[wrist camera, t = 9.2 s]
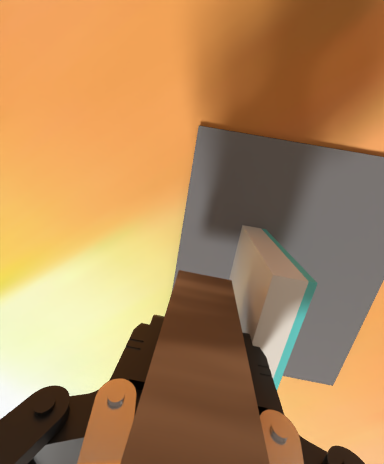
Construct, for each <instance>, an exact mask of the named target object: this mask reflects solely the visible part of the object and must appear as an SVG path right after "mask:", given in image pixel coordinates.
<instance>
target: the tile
mask: <svg viewBox="0 0 384 464" xmlns="http://www.w3.org/2000/svg"><path fill="white" fill-rule="evenodd" d="M229 280H232V285H233V290H234V294H235V299H236V304H237V309H238V314H239V319H240V323H241V328H242V332H243V333H248V334H250V336H251V340H252V344H253V346H257V347H260V349H261V350H262V351H263V353H264V354H265V356H266V358H267V361H268V364H269V369H270V371H271V374H272V378H273V380H274V384H275V387H276V390H277V389H278V386H279V383H280V381H281V378H282V376H283V373H284V370H285V368H286V365H287V363H288V360H289V357H290V355H291V352H292V349H293V347H294V344H295V342H296V339H297V336H298V334H299V331H300V328H301V326H302V323H303V321H304V318H305V315H306V313H307V310H308V307H309V305H310V302H311V300H312V297H313V294H314V292H315V289H316V286H317V284H318V283H317V282H316V281H315V280H314V279H313V278H312V277H311V276H310V275H309V274H308V273H307V272H306V271H305V270H304V268H303V267H302V266H301V265H300V264H299V263H298V262H297V261H296V260H295V259H294V258H293V257H292V256H291V255H290V254H289V253H288V252H287V251H286V250H285V249H284V248H283V247H282V246H281V245H280V244H279V242H278V241H277V240H276V239H275V238H274V237H273V236H272V235H271V234H270V233H269V232H268V231H267V230H266V229H261V228H256V227H250V226H245V225H242V229H241V233H240V237H239V241H238V245H237V250H236V254H235V258H234V262H233V266H232V270H231V274H230V278H229Z"/></svg>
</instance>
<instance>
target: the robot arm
mask: <svg viewBox="0 0 384 464" xmlns="http://www.w3.org/2000/svg"><path fill="white" fill-rule="evenodd" d="M163 321H164V316H159V315H154V316H153V318H152V321H151V323H150V325H148V324H143V323H141V324H140V325H139V326H137V327H136V328H135V329H134V330H133V332H132V334H131V337H130V339H129V341H128V343H127V345H126V348H125V349H124V351H123V354H122V356H121V358H120V360H119V362H118V364H117V366H116V368H115V370H114V373H113V375H112V377H111V379H110V380H109V381H108V382H107V383H105V384H104V385H103V386H102V387H101V388H100V389H99V390H97V391H95V392H92V393H89V394H83V395H76V396H69V393H68V391H67V390H66V389H65V388H63V387H61V386H48V387H45V388H42V389H40V390H38V391H37V392H35V393H34V394H32V395H31V396H30V397H28V398H27V399H26V400H25V401H23V402H22V403H21V404H20V405H18V406H17V407H16V408H14V409H13V410H12V411H11V412H9V413H8V414H7V415H6V416H4V417H3V418H2V419H1V420H0V464H120V463H121V460H122V457H123V453H124V450H125V447H126V443H127V440H128V437H129V433H130V430H131V427H132V423H133V420H134V417H135V413H136V410H137V407H138V404H139V400H140V397H141V394H142V390H143V387H144V384H145V380H146V377H147V374H148V370H149V367H150V364H151V361H152V357H153V354H154V351H155V347H156V344H157V341H158V337H159V334H160V331H161V327H162V324H163ZM242 333H243V332H242ZM243 338H244V343H245V347H246V352H247V357H248V362H249V367H250V372H251V376H252V381H253V386H254V391H255V396H256V401H257V405H258V410H259V415H260V420H261V425H262V430H263V434H264V439H265V444H266V449H267V454H268V459H269V463H270V464H365V463H364V462H363V461H362V460H361V459H360V458H359V457H358V456H357V455H356V454H354V453H353V452H351V451H350V450H348V449H346V448H344V447H341V446H333V447H331V448H330V449H329V451H328V452H326V451H324V450H322V449H321V448H319V447H317V446H315V445H314V444H312V443H310V442H308V441H307V440H305V439H303V438H302V437H301V436H300V435H299V434H298V432H297V430H296V428H295V427H294V425H293V424H292V422H291V421H290V420H289V419H288V418H287V417H286V416H285V415H284V413H283V410H282V406H281V403H280V400H279V397H278V393H277V390H276V387H275V384H274V380H273V378H272V374H271V371H270V369H269V364H268V361H267V358H266V356H265V354H264V353H263V351H262V350H261V349H260V347H257V346H253V344H252V340H251V336H250V334H248V333H243Z"/></svg>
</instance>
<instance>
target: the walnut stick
mask: <svg viewBox="0 0 384 464" xmlns="http://www.w3.org/2000/svg"><path fill="white" fill-rule="evenodd" d="M120 464H270V463H269V459H268V454H267V449H266V444H265V439H264V434H263V430H262V425H261V420H260V415H259V410H258V405H257V401H256V396H255V391H254V386H253V381H252V376H251V372H250V367H249V362H248V357H247V352H246V347H245V343H244V338H243V333H242V328H241V323H240V319H239V314H238V309H237V304H236V299H235V294H234V290H233V285H232V280H227V279H222V278H217V277H212V276H207V275H202V274H197V273H191V272H186V271H181V270H179V271H178V274H177V278H176V281H175V284H174V288H173V291H172V294H171V298H170V301H169V304H168V308H167V311H166V314H165V317H164V321H163V324H162V327H161V331H160V334H159V337H158V341H157V344H156V347H155V351H154V354H153V357H152V361H151V364H150V367H149V370H148V374H147V377H146V380H145V384H144V387H143V390H142V394H141V397H140V400H139V404H138V407H137V410H136V413H135V417H134V420H133V423H132V427H131V430H130V433H129V437H128V440H127V443H126V447H125V450H124V453H123V457H122V460H121V463H120Z"/></svg>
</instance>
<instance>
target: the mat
mask: <svg viewBox="0 0 384 464" xmlns="http://www.w3.org/2000/svg"><path fill="white" fill-rule="evenodd" d="M242 225H245V226H250V227H256V228H261V229H266V230H267V231H268V232H269V233H270V234H271V235H272V236H273V237H274V238H275V239H276V240H277V241H278V242H279V244H280V245H281V246H282V247H283V248H284V249H285V250H286V251H287V252H288V253H289V254H290V255H291V256H292V257H293V258H294V259H295V260H296V261H297V262H298V263H299V264H300V265H301V266H302V267H303V268H304V270H305V271H306V272H307V273H308V274H309V275H310V276H311V277H312V278H313V279H314V280H315V281H316V282H317V283H318V284H317V286H316V289H315V292H314V294H313V297H312V300H311V302H310V305H309V307H308V310H307V313H306V315H305V318H304V321H303V323H302V326H301V328H300V331H299V334H298V336H297V339H296V342H295V344H294V347H293V349H292V352H291V355H290V357H289V360H288V363H287V365H286V368H285V370H284V373H283V376H287V377H292V378H297V379H302V380H307V381H312V382H317V383H322V384H327V385H332V386H333V384H334V382H335V380H336V378H337V376H338V374H339V372H340V370H341V368H342V366H343V364H344V361H345V359H346V357H347V355H348V353H349V351H350V349H351V347H352V345H353V343H354V341H355V339H356V336H357V334H358V332H359V330H360V328H361V326H362V324H363V322H364V320H365V318H366V316H367V314H368V311H369V309H370V307H371V305H372V303H373V301H374V299H375V297H376V295H377V293H378V291H379V288H380V286H381V284H382V282H383V280H384V157H380V156H374V155H368V154H362V153H357V152H351V151H345V150H339V149H333V148H327V147H321V146H316V145H310V144H304V143H298V142H292V141H286V140H280V139H275V138H269V137H263V136H257V135H251V134H245V133H239V132H234V131H228V130H222V129H216V128H210V127H204V126H199V128H198V134H197V140H196V147H195V153H194V159H193V165H192V171H191V178H190V184H189V190H188V196H187V203H186V209H185V215H184V221H183V227H182V234H181V240H180V246H179V252H178V259H177V265H176V271H175V277H174V283H173V288H174V284H175V281H176V278H177V274H178V271H179V270H181V271H186V272H191V273H197V274H202V275H207V276H212V277H217V278H222V279H227V280H229V278H230V274H231V270H232V266H233V262H234V258H235V254H236V250H237V245H238V241H239V237H240V233H241V229H242ZM172 291H173V290H172Z"/></svg>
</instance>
